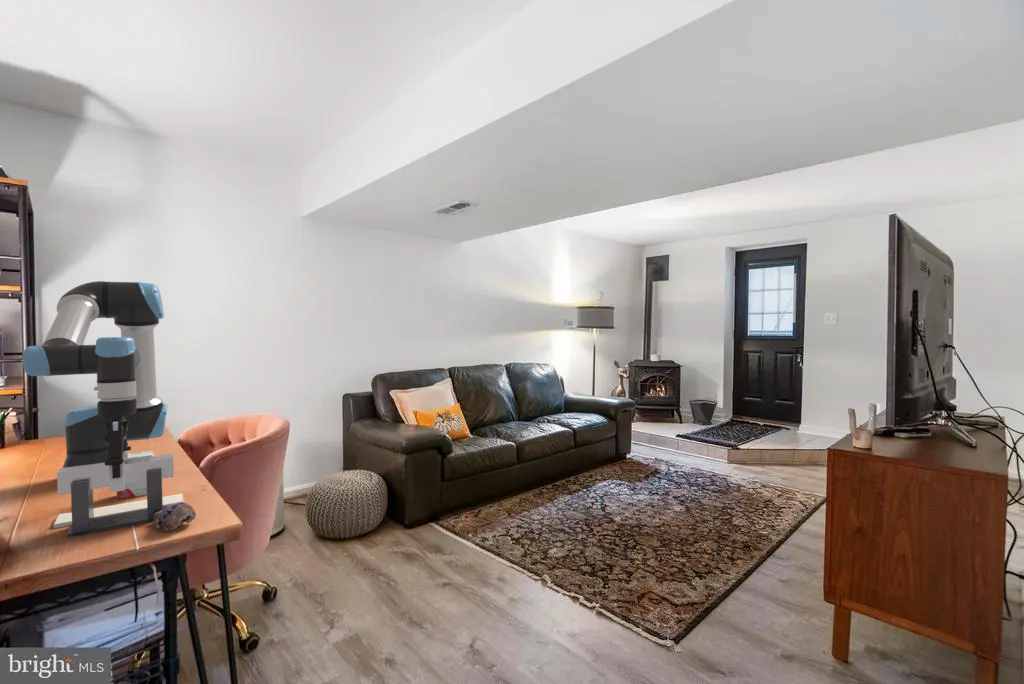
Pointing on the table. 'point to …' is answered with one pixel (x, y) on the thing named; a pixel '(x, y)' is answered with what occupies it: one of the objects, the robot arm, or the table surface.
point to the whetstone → (100, 472)
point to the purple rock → (174, 516)
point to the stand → (87, 524)
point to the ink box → (138, 487)
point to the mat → (118, 509)
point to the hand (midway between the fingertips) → (119, 483)
